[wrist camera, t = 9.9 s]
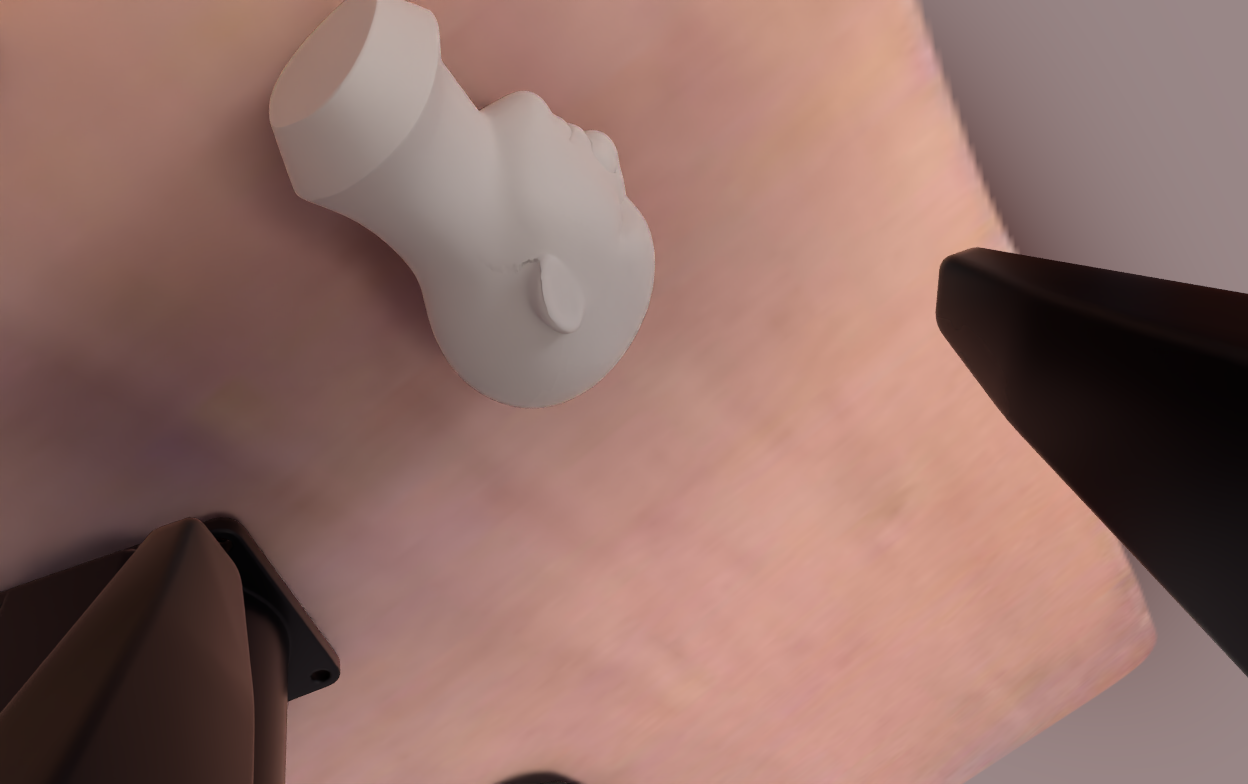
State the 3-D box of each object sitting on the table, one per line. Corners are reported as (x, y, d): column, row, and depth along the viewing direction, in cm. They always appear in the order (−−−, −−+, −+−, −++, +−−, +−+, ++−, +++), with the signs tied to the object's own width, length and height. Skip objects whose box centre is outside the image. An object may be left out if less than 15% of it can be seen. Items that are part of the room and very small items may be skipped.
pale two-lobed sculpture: (628, 250, 19) (472, 397, 18) (425, -87, 14) (191, 97, 13) (749, 301, 16) (567, 484, 15) (544, -113, 10) (244, 130, 9)
